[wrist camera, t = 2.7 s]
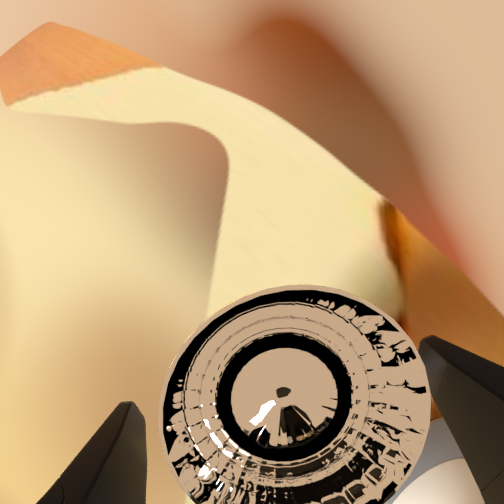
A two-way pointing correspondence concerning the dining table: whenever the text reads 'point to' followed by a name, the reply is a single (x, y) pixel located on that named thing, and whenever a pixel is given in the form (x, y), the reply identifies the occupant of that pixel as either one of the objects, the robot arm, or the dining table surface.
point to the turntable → (439, 473)
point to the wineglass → (295, 402)
